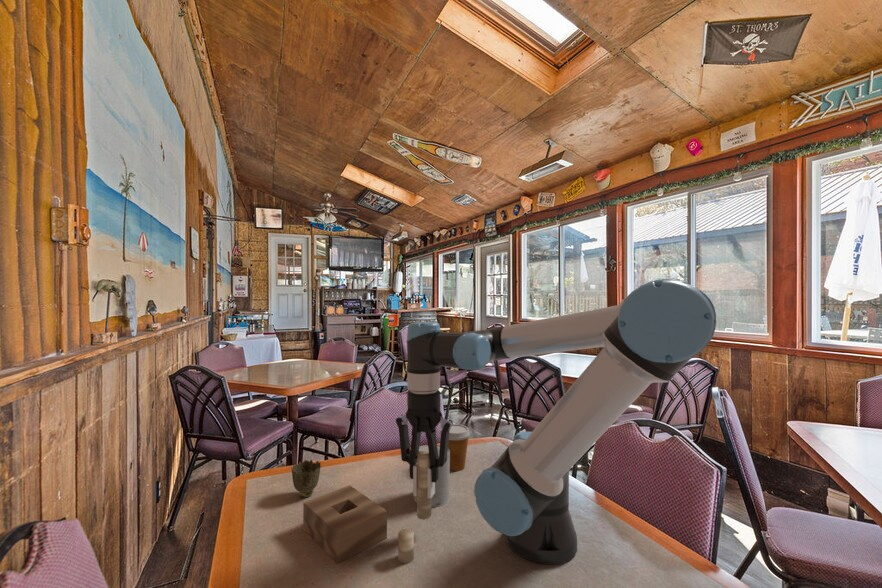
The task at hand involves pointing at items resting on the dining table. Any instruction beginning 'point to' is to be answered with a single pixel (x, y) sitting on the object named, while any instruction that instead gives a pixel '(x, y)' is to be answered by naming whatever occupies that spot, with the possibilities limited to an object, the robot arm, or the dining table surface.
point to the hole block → (344, 522)
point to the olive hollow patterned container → (306, 477)
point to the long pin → (423, 485)
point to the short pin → (405, 546)
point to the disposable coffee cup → (458, 446)
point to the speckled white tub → (440, 482)
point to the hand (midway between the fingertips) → (424, 494)
